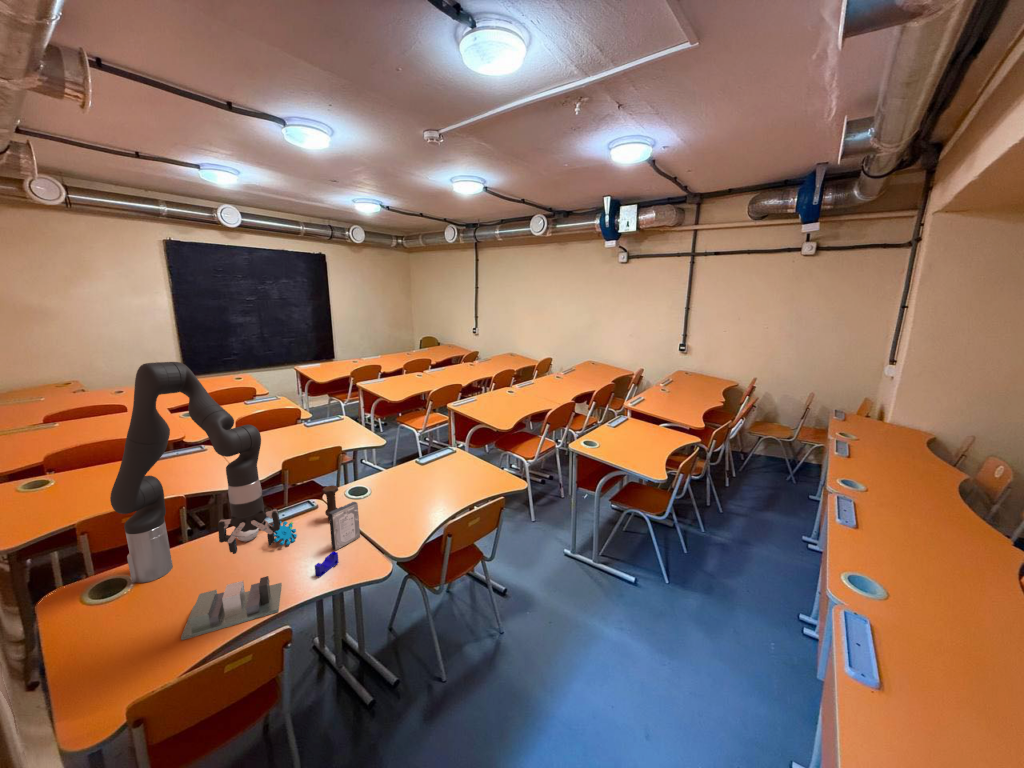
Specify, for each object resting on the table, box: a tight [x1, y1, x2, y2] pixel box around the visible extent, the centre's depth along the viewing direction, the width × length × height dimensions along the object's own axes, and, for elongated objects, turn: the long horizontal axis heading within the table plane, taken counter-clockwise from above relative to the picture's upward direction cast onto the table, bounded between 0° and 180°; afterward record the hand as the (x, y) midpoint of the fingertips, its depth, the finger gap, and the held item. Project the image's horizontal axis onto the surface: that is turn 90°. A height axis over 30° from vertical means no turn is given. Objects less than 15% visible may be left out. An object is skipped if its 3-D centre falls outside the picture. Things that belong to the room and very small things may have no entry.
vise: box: [180, 582, 283, 641], centre depth 109 cm, size 22×12×5 cm, turn 117°
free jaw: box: [246, 576, 270, 615], centre depth 112 cm, size 5×10×6 cm, turn 27°
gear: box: [271, 520, 298, 546], centre depth 142 cm, size 11×6×10 cm
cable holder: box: [314, 550, 339, 578], centre depth 128 cm, size 8×4×4 cm, turn 161°
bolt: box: [322, 484, 339, 522], centre depth 155 cm, size 6×5×15 cm
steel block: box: [222, 580, 246, 617], centre depth 109 cm, size 4×6×6 cm, turn 27°
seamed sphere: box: [236, 528, 260, 543], centre depth 142 cm, size 10×7×7 cm
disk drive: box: [328, 501, 361, 551], centre depth 141 cm, size 10×3×15 cm, turn 145°
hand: (253, 548), depth 108 cm, fingers open, 8 cm apart
